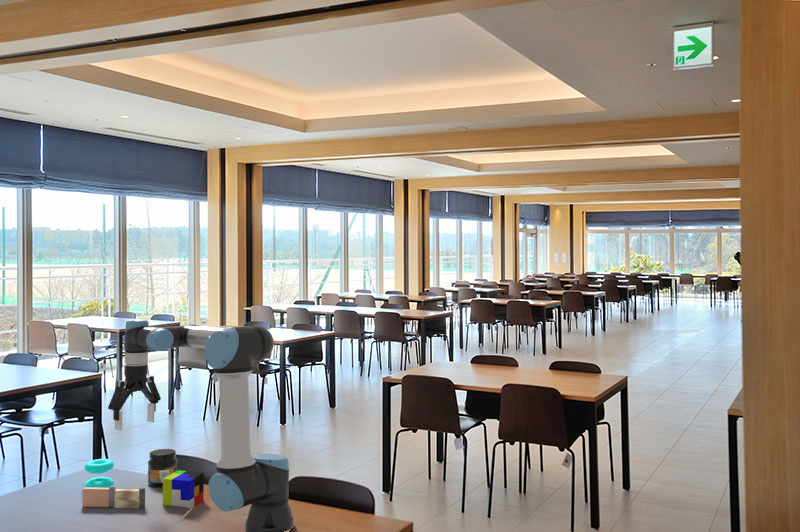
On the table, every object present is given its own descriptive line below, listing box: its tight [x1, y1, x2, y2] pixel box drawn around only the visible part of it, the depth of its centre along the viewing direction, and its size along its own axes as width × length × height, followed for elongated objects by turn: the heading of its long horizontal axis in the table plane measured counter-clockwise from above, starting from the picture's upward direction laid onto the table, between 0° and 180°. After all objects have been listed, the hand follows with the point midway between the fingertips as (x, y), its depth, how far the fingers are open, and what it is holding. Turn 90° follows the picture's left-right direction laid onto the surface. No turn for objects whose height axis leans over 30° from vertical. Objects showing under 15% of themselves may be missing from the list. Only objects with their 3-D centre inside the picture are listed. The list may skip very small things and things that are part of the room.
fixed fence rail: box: [114, 487, 146, 509], centre depth 233 cm, size 10×2×7 cm, turn 89°
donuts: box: [83, 458, 115, 488], centre depth 255 cm, size 10×10×10 cm
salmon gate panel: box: [81, 485, 116, 508], centre depth 233 cm, size 11×2×7 cm, turn 89°
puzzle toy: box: [162, 469, 205, 511], centre depth 240 cm, size 10×10×10 cm
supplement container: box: [147, 448, 178, 488], centre depth 262 cm, size 10×10×12 cm
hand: (134, 425), depth 237 cm, fingers open, 13 cm apart
